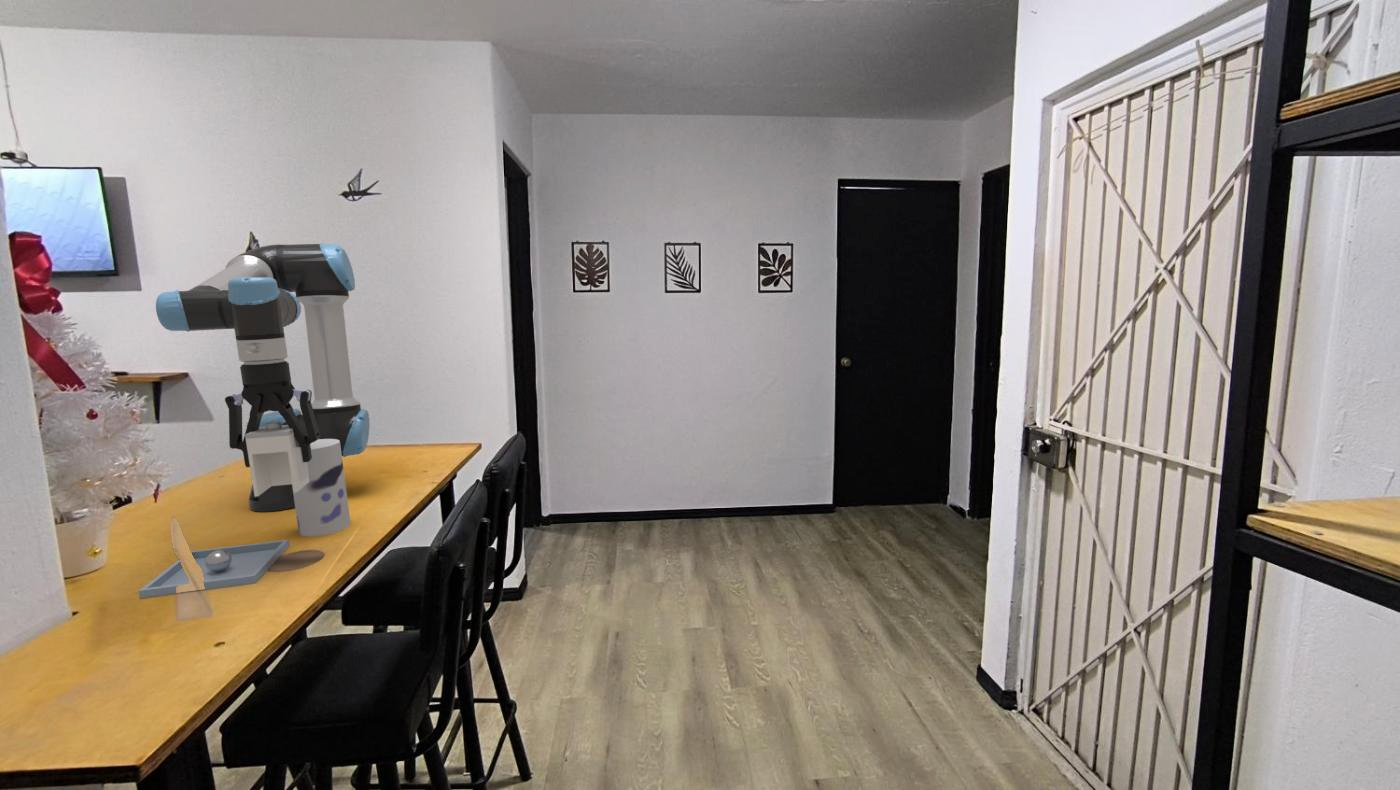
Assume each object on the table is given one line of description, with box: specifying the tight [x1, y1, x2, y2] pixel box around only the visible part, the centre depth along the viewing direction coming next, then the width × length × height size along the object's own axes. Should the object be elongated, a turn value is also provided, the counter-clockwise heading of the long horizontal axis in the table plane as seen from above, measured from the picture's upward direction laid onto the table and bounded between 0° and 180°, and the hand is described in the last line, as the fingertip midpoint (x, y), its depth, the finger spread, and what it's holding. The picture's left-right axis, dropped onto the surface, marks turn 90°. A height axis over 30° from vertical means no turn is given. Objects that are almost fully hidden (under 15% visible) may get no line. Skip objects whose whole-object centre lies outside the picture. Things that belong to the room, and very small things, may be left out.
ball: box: [205, 550, 232, 572], centre depth 120 cm, size 4×4×4 cm
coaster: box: [267, 549, 325, 573], centre depth 124 cm, size 10×10×1 cm
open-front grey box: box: [244, 421, 309, 497], centre depth 120 cm, size 7×7×13 cm
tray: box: [138, 539, 290, 600], centre depth 121 cm, size 18×18×2 cm
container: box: [292, 439, 351, 538], centre depth 140 cm, size 10×10×20 cm
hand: (281, 480), depth 121 cm, fingers closed on open-front grey box, 7 cm apart
